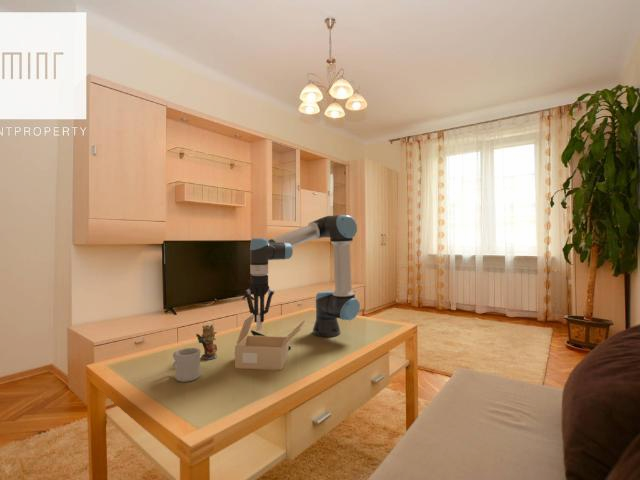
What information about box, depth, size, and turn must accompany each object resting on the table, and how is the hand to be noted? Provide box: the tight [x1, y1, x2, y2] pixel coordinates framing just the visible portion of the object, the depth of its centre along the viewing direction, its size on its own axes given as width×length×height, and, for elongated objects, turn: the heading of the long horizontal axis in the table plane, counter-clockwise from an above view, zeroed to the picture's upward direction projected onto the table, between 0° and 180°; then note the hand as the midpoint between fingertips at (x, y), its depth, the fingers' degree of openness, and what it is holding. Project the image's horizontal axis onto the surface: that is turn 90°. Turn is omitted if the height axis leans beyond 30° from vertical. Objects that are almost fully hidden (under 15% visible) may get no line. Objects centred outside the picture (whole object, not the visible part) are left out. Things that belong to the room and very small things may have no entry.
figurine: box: [196, 324, 218, 361], centre depth 148 cm, size 9×8×15 cm
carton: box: [234, 334, 289, 371], centre depth 143 cm, size 15×19×9 cm
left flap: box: [236, 313, 254, 345], centre depth 143 cm, size 13×1×10 cm, turn 175°
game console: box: [250, 329, 292, 351], centre depth 160 cm, size 16×14×9 cm
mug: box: [172, 347, 202, 383], centre depth 128 cm, size 12×9×10 cm
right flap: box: [282, 320, 306, 346], centre depth 142 cm, size 13×1×10 cm
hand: (259, 329), depth 143 cm, fingers closed
